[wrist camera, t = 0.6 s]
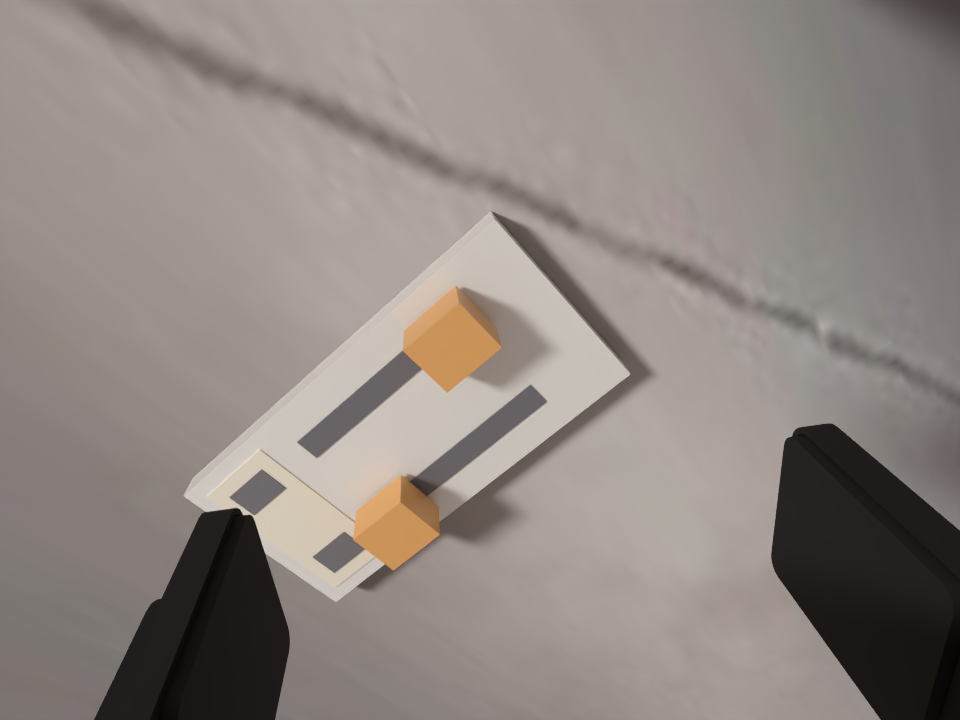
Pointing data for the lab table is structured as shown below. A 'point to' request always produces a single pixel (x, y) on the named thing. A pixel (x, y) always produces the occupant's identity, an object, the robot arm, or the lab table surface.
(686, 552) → the lab table surface
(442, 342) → the switch tab
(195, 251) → the lab table surface
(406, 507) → the switch tab
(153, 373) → the lab table surface
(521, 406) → the switch panel
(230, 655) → the robot arm
